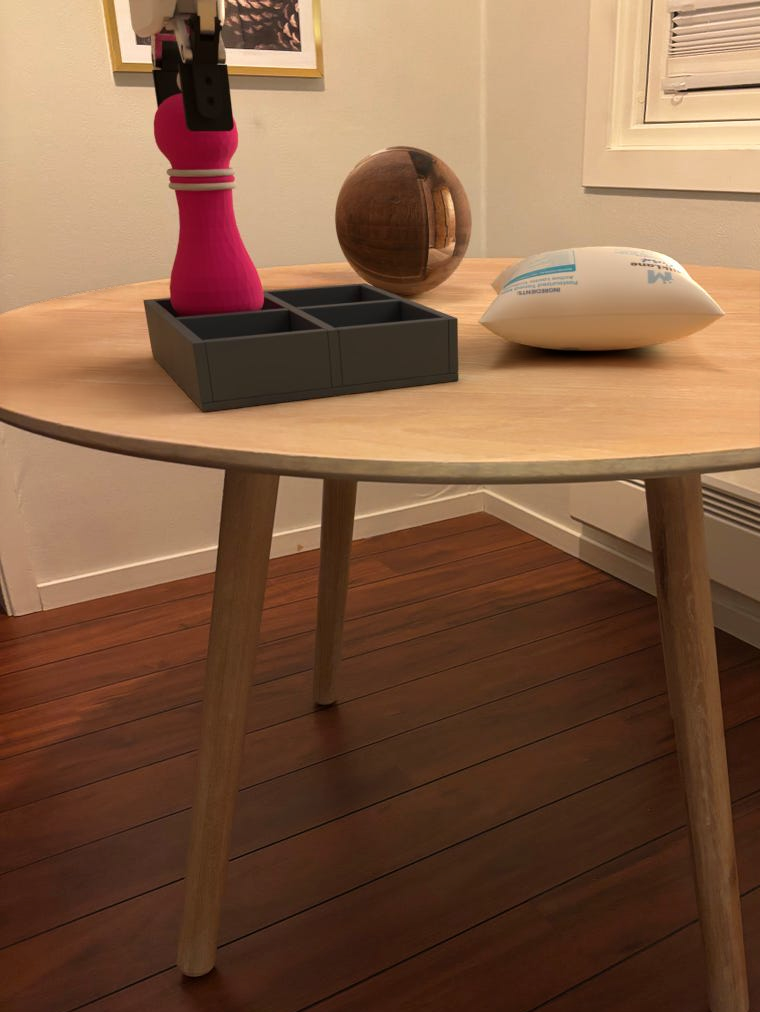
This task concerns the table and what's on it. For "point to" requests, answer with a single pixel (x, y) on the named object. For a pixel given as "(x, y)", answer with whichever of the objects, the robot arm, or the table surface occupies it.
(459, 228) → the shiny brown ball
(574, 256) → the pouch
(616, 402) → the table surface
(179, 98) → the pepper mill
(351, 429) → the table surface
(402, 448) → the table surface
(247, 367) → the compartment tray
